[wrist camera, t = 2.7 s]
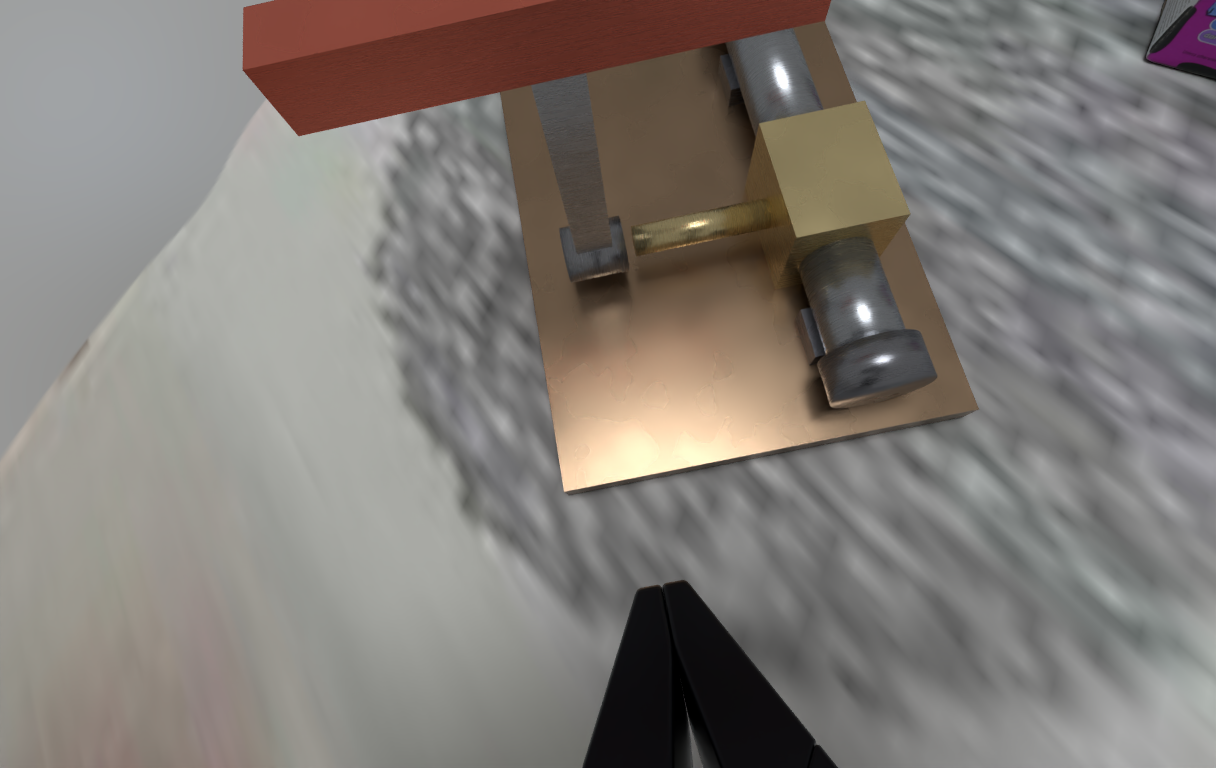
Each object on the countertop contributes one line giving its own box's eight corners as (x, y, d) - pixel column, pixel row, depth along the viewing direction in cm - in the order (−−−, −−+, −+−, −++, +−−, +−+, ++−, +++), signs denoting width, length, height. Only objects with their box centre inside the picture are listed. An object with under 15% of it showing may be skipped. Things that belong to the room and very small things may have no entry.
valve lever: (757, 253, 24) (853, -59, 12) (449, 318, 24) (242, 77, 12) (743, 208, 25) (822, -130, 13) (444, 271, 25) (243, 0, 13)
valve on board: (963, 416, 23) (1045, 376, 18) (568, 495, 24) (544, 476, 19) (804, 8, 30) (833, -103, 25) (500, 75, 30) (469, -21, 25)
